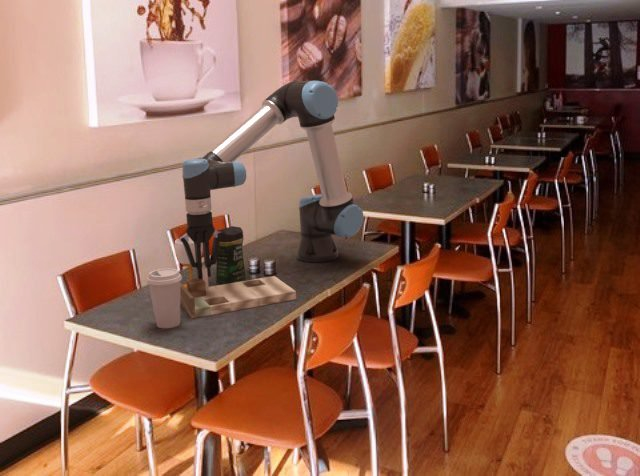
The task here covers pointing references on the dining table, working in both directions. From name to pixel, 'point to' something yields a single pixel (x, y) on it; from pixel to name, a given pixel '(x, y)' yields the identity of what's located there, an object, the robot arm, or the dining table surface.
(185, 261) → the cup
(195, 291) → the walnut block
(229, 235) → the coffee jar
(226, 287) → the trap board
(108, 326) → the dining table surface
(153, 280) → the coffee cup
